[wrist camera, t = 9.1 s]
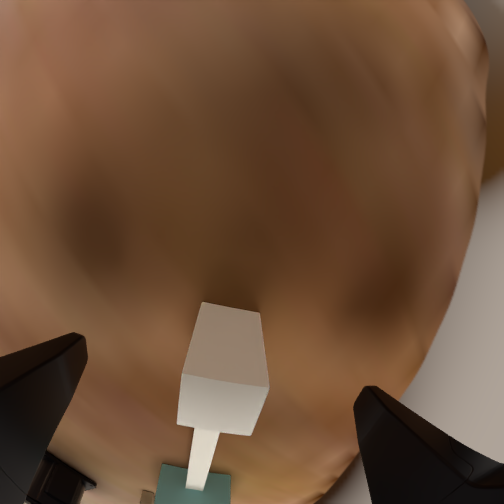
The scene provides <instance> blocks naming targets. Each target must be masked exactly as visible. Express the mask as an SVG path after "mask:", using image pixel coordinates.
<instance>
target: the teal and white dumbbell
mask: <svg viewBox="0 0 504 504" xmlns="http://www.w3.org/2000/svg"><path fill="white" fill-rule="evenodd" d="M269 389H270V385H269V377H268V370H267V362H266V355H265V348H264V340H263V333H262V325H261V318H260V313H258V312H253V311H247V310H242V309H237V308H231V307H226V306H221V305H216V304H211V303H206V302H202V303H201V307H200V310H199V314H198V317H197V321H196V324H195V328H194V331H193V335H192V338H191V342H190V345H189V349H188V353H187V356H186V360H185V364H184V367H183V371H182V377H181V386H180V396H179V406H178V417H177V424H178V425H183V426H188V427H193V428H194V434H193V441H192V447H191V454H190V460H189V467H188V469H185V468H180V467H175V466H171V465H166V464H162V467H161V471H160V476H159V481H158V486H157V490H156V495H155V500H154V504H230V485H231V475H225V474H217V473H209V468H210V465H211V461H212V458H213V454H214V451H215V447H216V444H217V440H218V437H219V433H220V432H223V433H230V434H238V435H247V436H251V434H252V431H253V429H254V427H255V424H256V422H257V419H258V417H259V414H260V412H261V409H262V407H263V404H264V402H265V399H266V397H267V394H268V391H269Z"/></svg>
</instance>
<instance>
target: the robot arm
mask: <svg viewBox="0 0 504 504" xmlns="http://www.w3.org/2000/svg"><path fill="white" fill-rule="evenodd" d="M87 360H88V354H87V345H86V338H85V337H84V336H83V335H81V334H78V333H75V332H72V333H69V334H66V335H63V336H61V337H58V338H55V339H52V340H49V341H46V342H43V343H40V344H37V345H35V346H32V347H29V348H26V349H23V350H20V351H17V352H14V353H11V354H8V355H5V356H2V357H0V504H24V502H25V503H26V504H80V501H81V499H82V496H83V493H84V491H86V490H90V489H94V488H96V484H95V483H94V482H92V481H90V480H89V479H87V478H85V477H84V476H82V475H80V474H79V473H77V472H76V471H74V470H73V469H71V468H70V467H68V466H67V465H65V464H64V463H62V462H61V461H59V460H58V459H56V458H55V457H54V456H52V455H51V454H50V453H48V452H47V451H46V449H47V447H48V445H49V443H50V441H51V439H52V436H53V434H54V432H55V430H56V428H57V426H58V424H59V423H60V421H61V419H62V417H63V415H64V413H65V411H66V409H67V407H68V405H69V403H70V401H71V400H72V397H73V395H74V392H75V390H76V387H77V385H78V383H79V380H80V378H81V375H82V373H83V371H84V368H85V366H86V364H87ZM353 410H354V417H355V424H356V431H357V438H358V444H359V449H360V453H361V457H362V461H363V466H364V470H365V474H366V478H367V483H368V487H369V492H370V497H371V500H372V504H504V464H503V463H499V462H497V461H495V460H492V459H490V458H488V457H486V456H484V455H482V454H480V453H478V452H476V451H474V450H472V449H471V448H469V447H467V446H465V445H464V444H462V443H460V442H459V441H457V440H455V439H454V438H452V437H451V436H448V434H446V433H445V432H443V431H442V430H440V429H438V428H437V427H435V426H434V425H432V424H431V423H429V422H428V421H426V420H425V419H423V418H422V417H421V416H419V415H418V414H416V413H414V412H413V411H412V410H410V409H409V408H407V407H406V406H404V405H403V404H401V403H400V402H399V401H397V400H396V399H394V398H393V397H391V396H390V395H389V394H387V393H386V392H384V391H383V390H381V389H380V388H379V387H377V386H365V387H364V388H363V389H362V391H361V392H360V394H359V396H358V397H357V399H356V401H355V403H354V406H353Z"/></svg>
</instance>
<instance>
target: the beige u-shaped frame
mask: <svg viewBox="0 0 504 504" xmlns="http://www.w3.org/2000/svg"><path fill="white" fill-rule="evenodd" d="M140 504H154V493H151V492H147V491H143V492H142V497H141V501H140Z"/></svg>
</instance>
